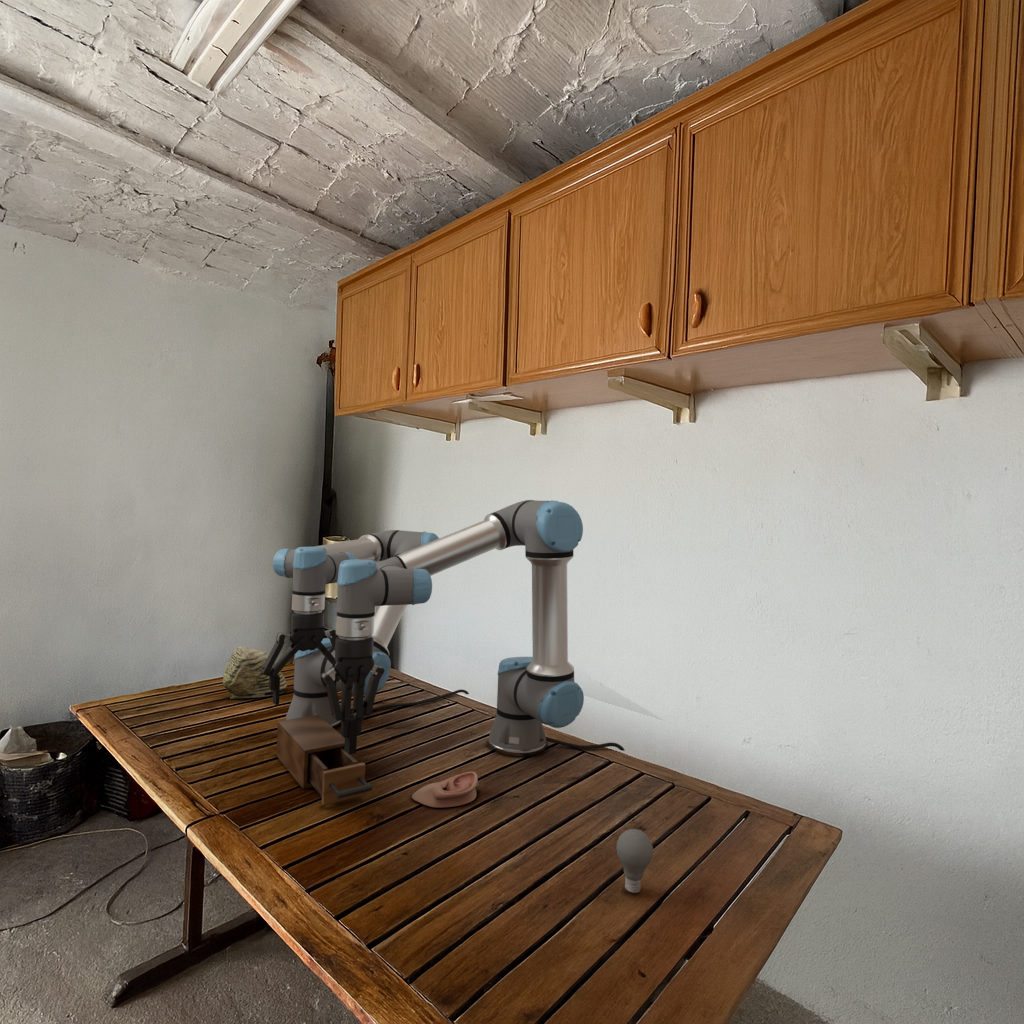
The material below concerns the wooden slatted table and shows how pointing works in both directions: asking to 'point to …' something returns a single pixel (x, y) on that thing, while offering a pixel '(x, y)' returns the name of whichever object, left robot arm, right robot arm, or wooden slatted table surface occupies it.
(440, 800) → the anatomical model
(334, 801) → the drawer
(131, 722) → the wooden slatted table surface
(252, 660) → the fossil
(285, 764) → the cabinet
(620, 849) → the light bulb
